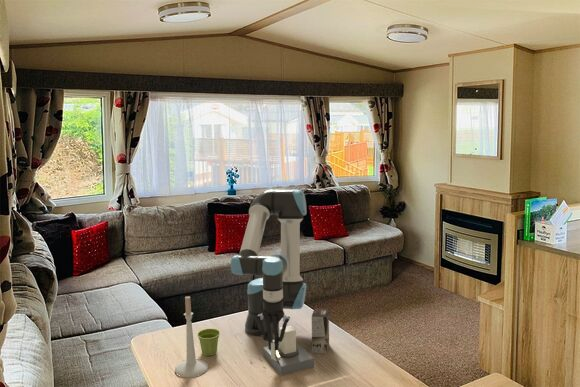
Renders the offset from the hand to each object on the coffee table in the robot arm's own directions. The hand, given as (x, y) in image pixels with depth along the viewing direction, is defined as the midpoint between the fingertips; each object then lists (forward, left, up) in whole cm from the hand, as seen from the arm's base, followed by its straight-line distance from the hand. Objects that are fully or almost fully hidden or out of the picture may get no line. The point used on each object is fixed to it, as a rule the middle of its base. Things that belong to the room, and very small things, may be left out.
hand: (273, 357), depth 188 cm
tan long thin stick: (-4, +2, 0) cm, 5 cm away
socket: (-4, +8, -6) cm, 10 cm away
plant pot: (-26, -18, -6) cm, 32 cm away
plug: (-4, +8, -5) cm, 10 cm away
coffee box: (-8, +25, -6) cm, 26 cm away
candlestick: (-16, -28, -6) cm, 33 cm away
